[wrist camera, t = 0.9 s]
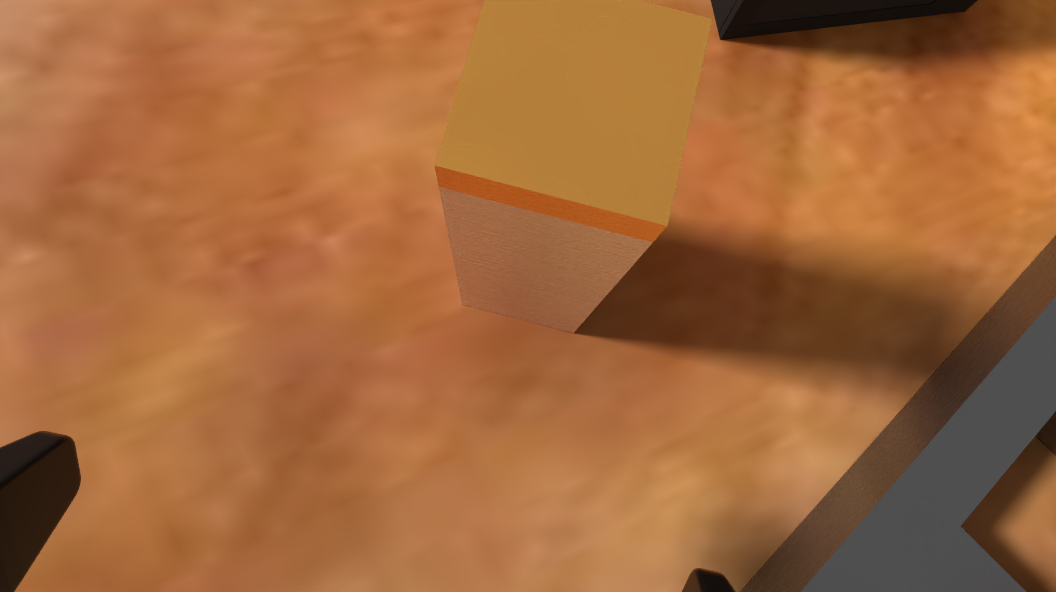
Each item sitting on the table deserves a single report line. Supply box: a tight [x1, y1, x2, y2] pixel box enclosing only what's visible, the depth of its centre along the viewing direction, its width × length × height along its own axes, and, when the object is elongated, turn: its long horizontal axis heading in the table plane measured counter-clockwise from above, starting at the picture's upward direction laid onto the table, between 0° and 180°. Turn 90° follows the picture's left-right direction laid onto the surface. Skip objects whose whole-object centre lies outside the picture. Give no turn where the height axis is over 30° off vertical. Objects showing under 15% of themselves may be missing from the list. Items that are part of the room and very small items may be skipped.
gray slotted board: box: [741, 236, 1056, 592], centre depth 22 cm, size 28×10×3 cm, turn 134°
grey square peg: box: [435, 0, 712, 333], centre depth 18 cm, size 4×4×12 cm
